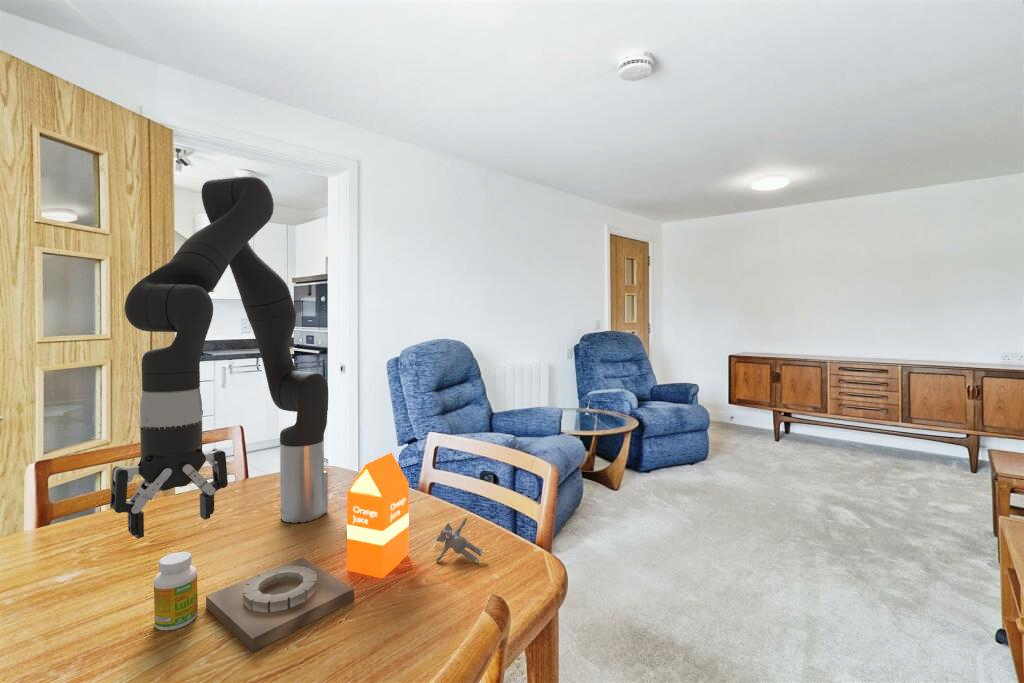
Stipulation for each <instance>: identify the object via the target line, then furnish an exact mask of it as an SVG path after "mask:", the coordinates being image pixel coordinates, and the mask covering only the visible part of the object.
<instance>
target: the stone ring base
mask: <svg viewBox="0 0 1024 683" xmlns="http://www.w3.org/2000/svg"><path fill="white" fill-rule="evenodd" d="M352 602H355V588H354V587H352V586H351V585H349V584H347V583H346V582H344V581H343V580H341V579H339V578H337V577H336V576H334V575H333V574H331V573H329V572H328V571H326V570H324V569H323V568H322V567H320V566H318V565H317V564H315V563H313V562H311V561H310V560H308V559H307V558H305V557H300V558H297V559H295V560H292V561H290V562H287V563H285V564H282V565H280V566H277V567H274V568H272V569H269V570H267V571H264V572H262V573H259V574H257V575H254V576H252V577H249V578H247V579H243V580H242V581H238V582H236V583H234V584H232V585H230V586H227V587H225V588H220V589H219V590H217V591H215V592H211V593H209V594H207V595H205V608H206V609H207V610H208V611H209V612H210V613H211V614H212V615H213V616H214V617H215V618H216V619H217V620H218V621H219V622H220V623H221V624H222V625H223V626H224V627H225V628H226V629H227V630H229V632H231V634H233V635H234V636H235V637H236V639H238V640H239V641H240V642H241V643H242V644H243V645H244V646H245V647H246V648H247V649H248V650H249V651H250V652H251V653H255V652H257V651H258V650H261V649H264V648H265V647H267V646H269V645H270V644H273V643H274V642H277V641H279V640H280V639H283V638H284V637H286V636H288V635H289V634H292V633H293V632H297V630H299V629H301V628H304V627H305V626H307V625H309V624H311V623H314V622H315V621H317V620H319V619H321V618H323V617H325V616H326V615H328V614H331V613H332V612H334V611H337V610H338V609H340V608H342V607H344V606H346V605H349V604H350V603H352Z"/></svg>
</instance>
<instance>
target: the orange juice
mask: <svg viewBox="0 0 1024 683" xmlns="http://www.w3.org/2000/svg"><path fill="white" fill-rule="evenodd" d="M409 490H410V482H409V481H408V480H407V477H406V476H405V474H404V473H403V470H402V469H401V466H400V465H399V464H398V461H397V460H396V457H395V456H394V454H393V452H390V453H387V454H385V455H382V456H381V457H378V458H377V459H375V460H373V461H370V462H368V463H366V464H365V465H364V466H363V467H362V469H361V470H360V472H359V473H358V475H357V476H356V478H355V479H354V481H353V482H352V484H351V486H350V487H349V489H348V490H347V492H346V497H347V500H346V504H347V505H346V506H347V508H346V510H347V512H346V514H347V516H346V517H347V518H346V520H347V522H346V531H347V535H346V540H347V542H346V544H347V545H346V547H347V548H346V549H347V550H346V552H347V554H346V556H347V557H346V558H347V559H346V561H347V564H346V566H347V567H346V570H347V571H348V572H354V573H357V574H362V575H366V576H370V577H375V578H380V579H383V578H385V577H386V576H387V575H388V574H390V572H392V571H393V570H394V569H395V568H397V566H398V565H400V564H401V563H402V562H403V561H404V560H405V559H406V558H407V557H406V556H407V555H408V556H409V524H410V523H409V522H410V521H409V520H410V519H409V518H410V512H409V508H410V507H409V506H410V505H409V504H410V503H409V502H410V501H409V500H410V499H409V498H410V496H409V495H410V494H409V492H410V491H409ZM405 557H406V558H405ZM404 558H405V559H404ZM403 559H404V560H403ZM402 560H403V561H402ZM401 561H402V562H401ZM400 562H401V563H400Z"/></svg>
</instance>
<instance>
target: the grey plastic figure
mask: <svg viewBox="0 0 1024 683" xmlns="http://www.w3.org/2000/svg"><path fill="white" fill-rule="evenodd" d="M467 520H468V517H465V518H464V519H463V521H461V524H460V525H459V527H457V528H456V529H455V530H454V531H453V527H452V526H451V524H450V523H449V522H448V523H447V524H446V525H445V526H444V528H443V529H441V531H440V533H439V535H438V536H437V537H436V539H435V540H436V542H437V543H439V542H441V543H444V542H445V543H444V546H443V548H442V551H441V553H440V554H439V556H438V557H437V559H436V561H435V563H436V562H437V563H439V562H440V561H441V560H442V558H443V557H444V555H445V554H446V553H447V552H448V550H449V548H451V549H452V550H453V551H454V553H456V554H461V555H462V556H464V557H466V558H467V559H469V560H470V561H471V562H473V563H474V564H475V563H477V562H478V563H479V560H480V559H479V557H477V556H475V555H474V554H472V553H471V552H474V553H475V554H477V555H478V556H480V557H481V556H482V555H483V553H484V550H482V549H480V548H479V547H477V546H475V545H474V544H473V543H471V542H470V541H468V540H467V539H466V538H465V537H464V536H461V535H460V534H461V531H462V529H463V527H464V526H465V525H466V522H467ZM466 548H467V549H469V550H470V551H471V552H470V551H468V550H467V549H466ZM439 560H440V561H439ZM478 563H477V564H478Z"/></svg>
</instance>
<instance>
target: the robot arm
mask: <svg viewBox="0 0 1024 683" xmlns="http://www.w3.org/2000/svg"><path fill="white" fill-rule="evenodd" d="M201 200H202V204H203V208H204V211H205V213H206V216H207V219H208V221H209V223H210V224H207V225H206V226H205V227H203V228H200V229H199V230H198V231H196V232H195V233H193V234H191V236H190V237H188V238H187V239H186V240H185V241H184V242H183V244H182V245H181V246H180V247H179V249H178V250H177V251H176V252H175V254H174V255H173V256H172V258H171V259H170V261H169V262H167V263H165V264H163V265H161V266H160V267H158V268H157V269H155V270H154V271H152V272H151V273H150V274H148V275H146V276H145V277H143V278H141V279H140V280H139V281H138V282H136V284H134V286H133V287H132V288H130V291H129V292H128V294H127V296H126V299H125V302H124V314H125V317H126V319H127V321H128V322H129V324H131V325H132V326H133V327H134V328H136V329H138V330H140V331H144V332H151V333H152V332H153V333H155V332H157V333H176V334H175V337H174V340H173V341H172V343H171V344H170V345H169V346H167V347H159V348H155V349H150V350H148V351H146V352H145V353H144V354H143V356H142V358H141V398H140V399H141V400H140V406H139V407H140V409H139V421H140V424H139V426H140V427H139V430H140V437H139V438H140V460H139V462H138V464H137V465H133V466H123V467H122V466H121V465H117V466H114V467H113V469H112V472H111V486H110V502H109V503H110V504H109V505H110V508H111V509H112V510H113V511H114V512H115V513H117V514H122V513H127V531H128V533H129V534H130V535H131V536H134V537H135V539H137V540H138V539H141V538H144V537H145V522H144V521H145V520H144V519H145V514H144V511H143V508H144V507H145V506H146V504H147V503H148V502H149V500H151V499H153V498H154V497H155V495H156V493H157V492H158V491H163V492H164V491H169V490H171V489H174V488H183V487H186V486H188V485H189V484H190V483H192V484H194V486H196V488H198V489H199V490H200V491H201V493H199V515H200V518H201V519H202V520H209V519H211V515H213V514H214V513H215V494H216V492H217V491H219V490H221V489H225V488H226V487H228V484H229V483H228V469H227V468H228V466H227V455H226V454H227V453H226V452H225V451H224V450H221V449H219V448H213V449H212V450H211V451H208V452H203V415H204V410H203V401H202V395H201V377H200V376H201V371H200V370H201V368H200V364H201V363H200V362H201V358H202V355H203V349H204V346H205V342H206V339H207V336H208V332H209V329H210V326H211V323H212V320H213V316H214V303H213V301H212V300H213V299H212V298H211V296H210V294H209V293H211V292H212V291H213V290H215V288H216V287H217V285H218V283H219V282H220V280H221V278H222V277H223V275H224V274H225V272H226V270H227V269H228V267H229V268H230V271H231V273H232V275H233V278H234V281H235V285H236V287H237V290H238V293H239V297H240V299H241V302H242V305H243V308H244V309H243V310H244V312H245V314H246V317H247V320H248V323H249V324H250V326H251V329H252V332H253V335H254V337H255V341H256V344H257V345H256V346H257V347H258V351H259V355H260V356H261V360H262V365H263V368H264V373H265V377H266V380H267V381H266V382H267V386H268V390H269V394H270V397H271V399H272V401H273V403H274V405H275V406H276V407H277V408H279V409H280V410H282V411H285V412H286V411H288V412H294V413H296V419H295V421H296V422H295V424H293V425H291V426H288V427H285V428H283V429H281V431H280V433H279V463H280V464H279V469H280V470H279V471H280V472H279V475H280V476H279V477H280V479H279V480H280V481H279V482H280V495H279V496H280V499H279V500H280V504H279V505H280V506H279V507H280V508H279V510H280V520H281V519H282V520H281V521H283V522H285V523H289V522H291V523H290V524H298V523H297V522H301V523H305V522H306V521H307V522H311V521H314V520H317V519H319V518H320V517H321V516H323V515H324V514H326V513H328V512H329V511H328V510H329V506H328V505H329V496H328V495H329V492H328V490H329V489H328V488H329V487H328V486H329V482H328V481H329V480H328V479H329V478H328V476H329V474H328V473H329V472H327V471H326V470H325V450H324V449H325V439H324V438H325V431H326V429H327V428H326V427H327V424H328V408H329V406H328V405H329V388H328V387H329V385H328V382H327V380H326V378H325V376H324V375H323V374H322V373H319V372H315V371H302V370H301V371H299V370H297V369H296V368H297V367H296V366H295V363H294V360H293V357H292V353H291V346H290V345H291V343H292V342H291V341H292V337H293V334H294V330H295V327H296V323H297V321H296V320H297V312H296V308H295V307H296V306H295V305H294V302H293V298H292V295H291V292H290V289H289V286H288V285H287V283H286V282H285V280H284V279H283V278H282V277H281V276H280V275H279V273H277V272H276V271H275V270H274V269H273V268H272V267H271V266H269V265H268V264H267V263H266V262H265V261H264V260H263V259H262V258H261V257H260V256H259V255H258V254H257V253H256V252H255V251H254V249H253V247H252V246H251V245H250V243H249V242H250V240H251V239H252V238H253V237H255V235H256V234H257V233H258V232H259V231H260V230H262V228H264V227H265V226H266V225H267V224H268V223H269V221H270V220H271V218H272V216H273V214H274V208H275V207H274V199H273V195H272V192H271V190H270V188H269V186H268V184H267V183H266V182H265V181H264V180H263V179H261V178H260V177H258V176H253V175H242V176H231V177H224V178H215V179H210V180H207V181H205V182H204V183H203V185H202V187H201ZM206 461H207V463H208V464H209V465H211V467H212V468H211V469H212V481H210V482H208V480H207V479H206V478H205V477H204V476H203V475H202V474H201V473H199V472H200V470H201V469H202V467H203V466H204V465H205V463H206ZM136 475H139V476H140V477H142V478H143V480H142V482H141V483H140V484H139V485H138V487H137V488H136V490H135V493H134V494H133V495H132V497H131V498H130V499H129V500H127V498H128V484H129V483H131V482H132V481H133V480H134V477H135V476H136ZM313 519H314V520H313Z"/></svg>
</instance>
